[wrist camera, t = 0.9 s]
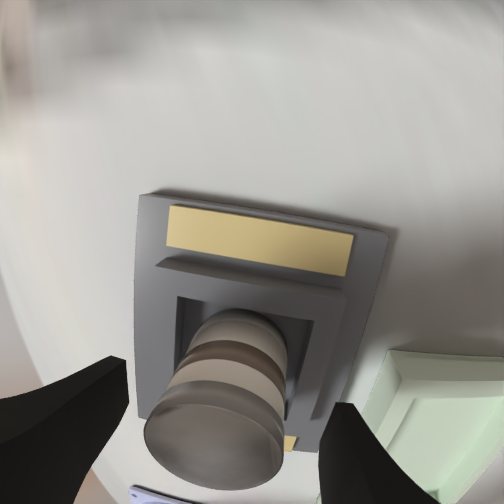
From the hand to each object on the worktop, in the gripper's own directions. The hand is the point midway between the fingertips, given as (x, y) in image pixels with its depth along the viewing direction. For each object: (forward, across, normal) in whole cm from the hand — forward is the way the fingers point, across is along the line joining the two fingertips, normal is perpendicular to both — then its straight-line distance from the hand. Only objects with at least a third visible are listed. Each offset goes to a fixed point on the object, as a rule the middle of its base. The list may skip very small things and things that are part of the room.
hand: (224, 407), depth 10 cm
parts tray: (+5, -12, +6) cm, 14 cm away
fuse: (+4, 0, 0) cm, 4 cm away
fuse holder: (+5, 0, 0) cm, 5 cm away
